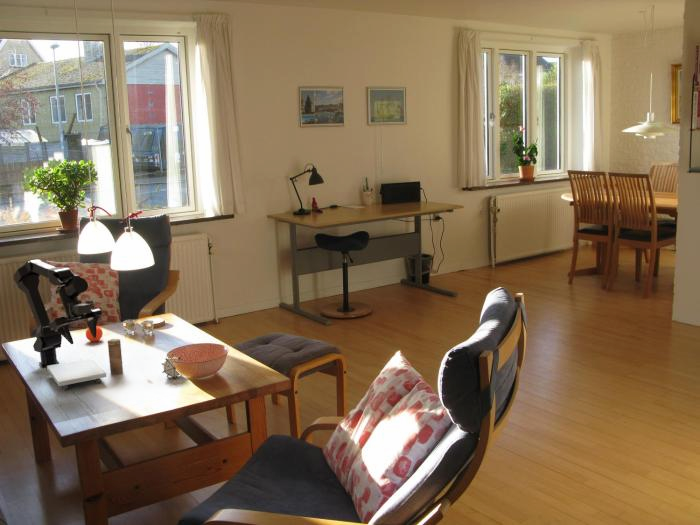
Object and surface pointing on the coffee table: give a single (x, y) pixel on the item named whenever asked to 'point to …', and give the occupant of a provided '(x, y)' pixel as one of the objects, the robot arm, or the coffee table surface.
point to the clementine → (98, 334)
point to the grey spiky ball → (171, 367)
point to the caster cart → (76, 372)
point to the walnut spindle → (115, 356)
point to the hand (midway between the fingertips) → (84, 340)
